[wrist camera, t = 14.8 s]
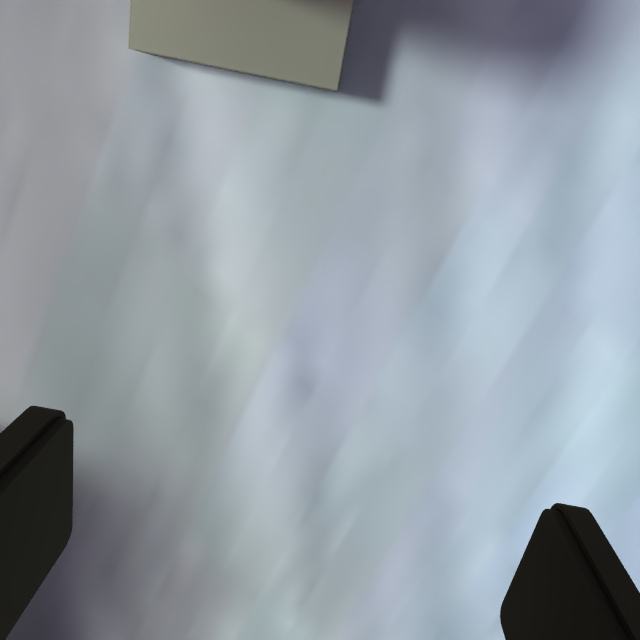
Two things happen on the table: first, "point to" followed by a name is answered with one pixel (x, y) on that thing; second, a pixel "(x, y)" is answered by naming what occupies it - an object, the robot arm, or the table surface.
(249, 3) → the base plinth
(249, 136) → the table surface
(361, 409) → the table surface
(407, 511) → the table surface
